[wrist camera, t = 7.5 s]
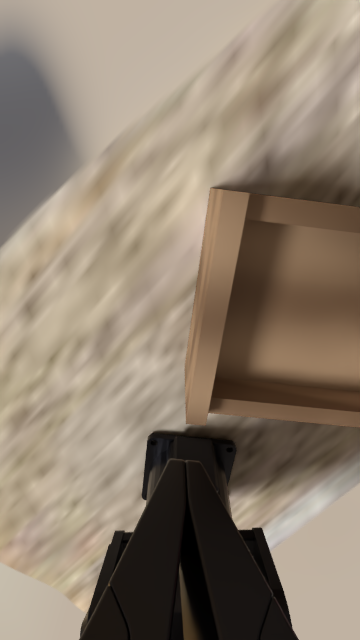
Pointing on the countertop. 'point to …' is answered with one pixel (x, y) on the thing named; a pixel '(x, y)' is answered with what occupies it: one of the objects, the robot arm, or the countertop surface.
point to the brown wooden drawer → (276, 312)
